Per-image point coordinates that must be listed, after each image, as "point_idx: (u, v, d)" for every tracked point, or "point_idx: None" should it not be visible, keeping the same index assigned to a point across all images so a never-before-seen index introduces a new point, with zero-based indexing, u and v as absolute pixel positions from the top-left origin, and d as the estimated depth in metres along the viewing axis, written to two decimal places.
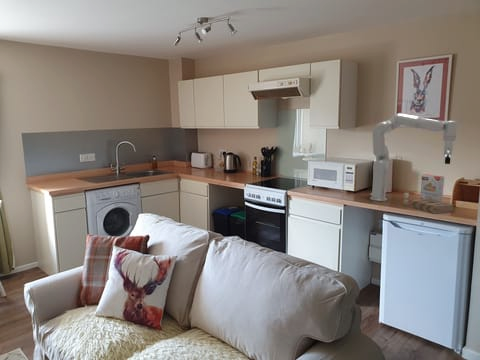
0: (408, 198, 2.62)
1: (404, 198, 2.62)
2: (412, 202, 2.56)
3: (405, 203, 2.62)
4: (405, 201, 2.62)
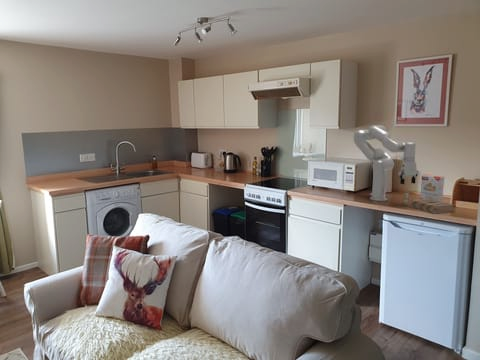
0: (408, 198, 2.62)
1: (404, 198, 2.62)
2: (412, 202, 2.56)
3: (405, 203, 2.62)
4: (405, 201, 2.62)
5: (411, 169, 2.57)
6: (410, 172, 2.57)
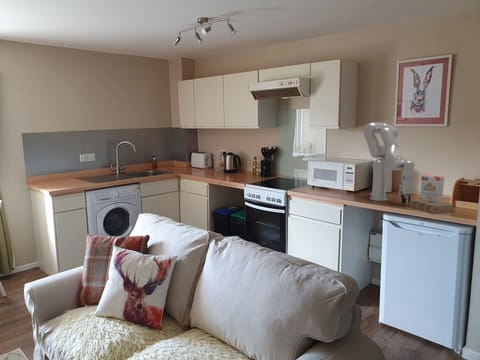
0: (408, 198, 2.62)
1: None
2: (412, 202, 2.56)
3: (405, 203, 2.62)
4: None
5: (409, 188, 2.59)
6: (409, 191, 2.59)
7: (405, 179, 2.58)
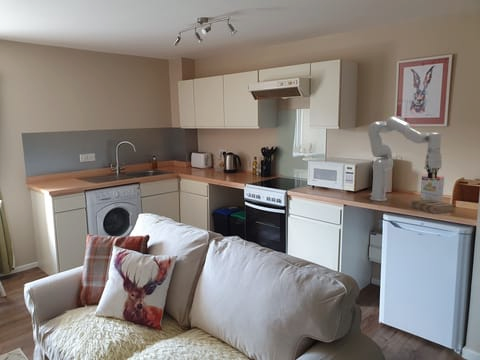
0: None
1: None
2: (412, 202, 2.56)
3: (431, 178, 2.47)
4: None
5: (436, 161, 2.44)
6: (435, 164, 2.44)
7: (431, 152, 2.43)
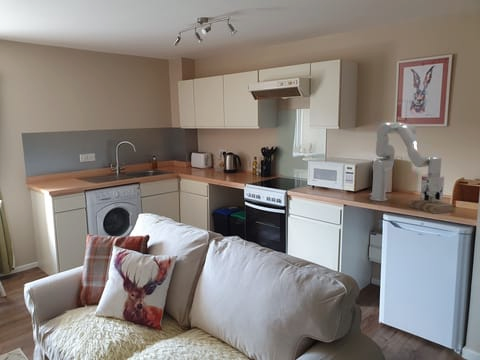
0: None
1: (430, 202, 2.49)
2: (412, 202, 2.56)
3: None
4: None
5: (436, 185, 2.45)
6: (435, 188, 2.46)
7: (432, 176, 2.44)
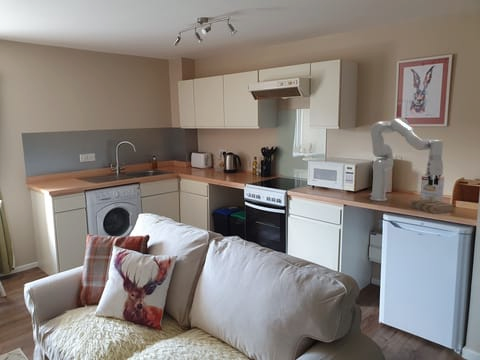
0: None
1: (430, 202, 2.49)
2: (412, 202, 2.56)
3: None
4: None
5: (437, 168, 2.44)
6: (437, 171, 2.44)
7: (433, 159, 2.43)
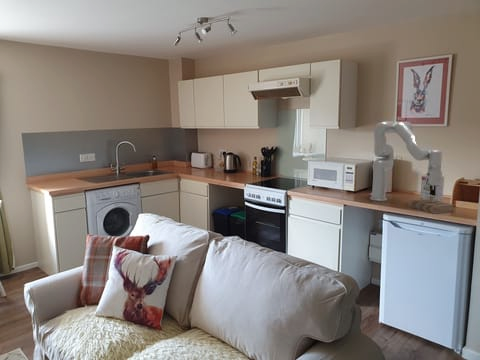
0: None
1: (430, 202, 2.49)
2: (412, 202, 2.56)
3: None
4: None
5: (437, 179, 2.45)
6: (436, 182, 2.45)
7: (432, 169, 2.44)
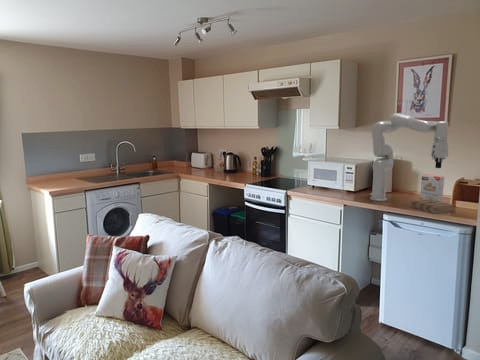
0: None
1: (430, 202, 2.49)
2: (412, 202, 2.56)
3: None
4: None
5: (442, 151, 2.39)
6: (442, 154, 2.39)
7: (438, 141, 2.38)
